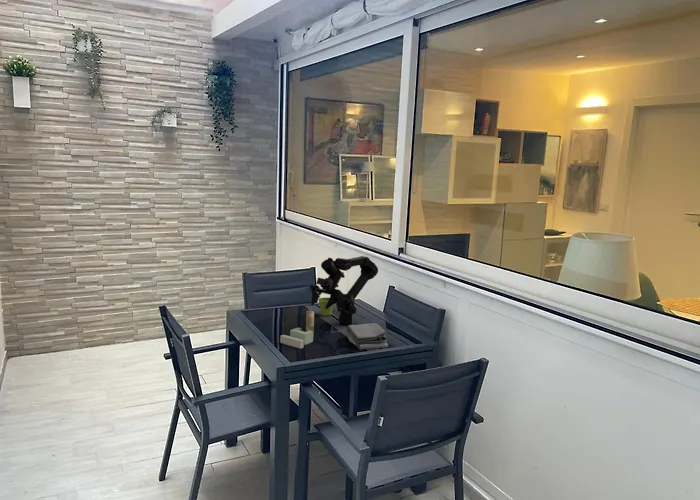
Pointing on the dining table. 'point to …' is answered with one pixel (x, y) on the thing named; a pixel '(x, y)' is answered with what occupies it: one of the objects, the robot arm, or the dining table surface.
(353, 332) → the towel
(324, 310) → the plant pot
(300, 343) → the kerb
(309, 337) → the block
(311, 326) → the dowel
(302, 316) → the dining table surface
